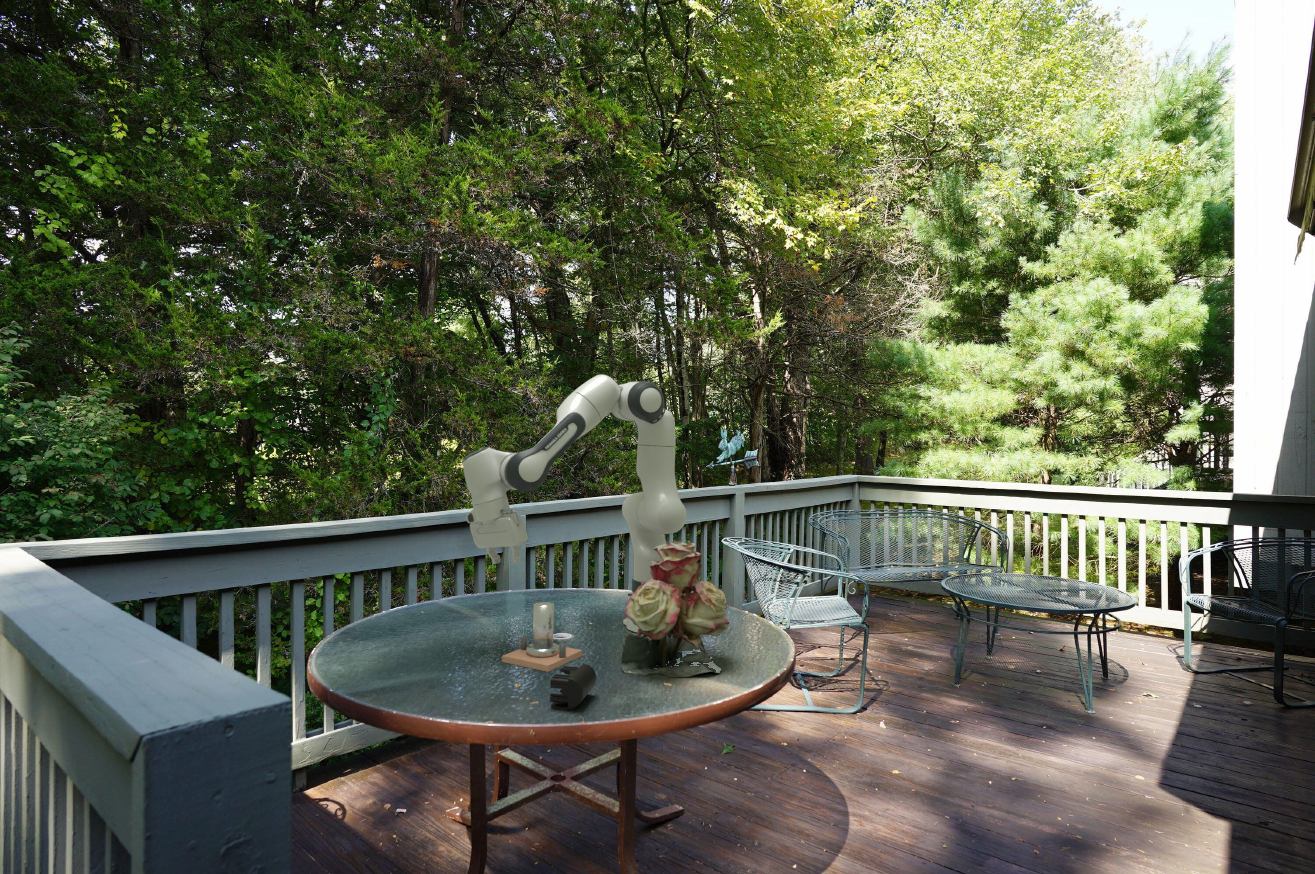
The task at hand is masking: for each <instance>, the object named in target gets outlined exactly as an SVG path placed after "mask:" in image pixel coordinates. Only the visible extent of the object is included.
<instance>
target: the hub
mask: <svg viewBox="0 0 1315 874" xmlns="http://www.w3.org/2000/svg"><path fill="white" fill-rule="evenodd" d="M532 616H533V621H532V623H533V624H532V625H533V626H532V643H529V644H527V648H526V654H527V655H529V656H531V657H539V658H544V657H552V656H555V655H557V654H558V653H559V644H558V643H555V642H554V626H555V625H554V623H555V621H554V620H555V618H554V617H555V604H554V603H553V602H548V601H547V602H546V601H543V602H542V601H539V602H536V603H533V615H532Z"/></svg>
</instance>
